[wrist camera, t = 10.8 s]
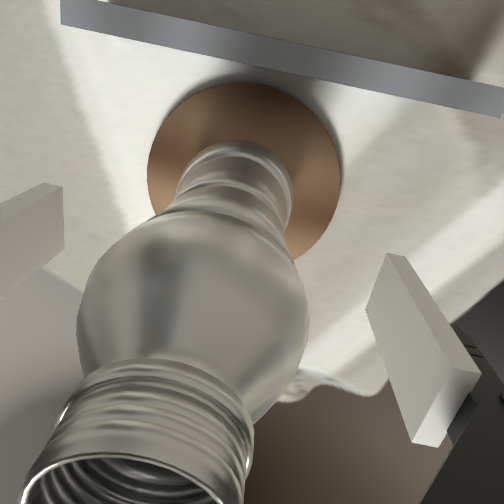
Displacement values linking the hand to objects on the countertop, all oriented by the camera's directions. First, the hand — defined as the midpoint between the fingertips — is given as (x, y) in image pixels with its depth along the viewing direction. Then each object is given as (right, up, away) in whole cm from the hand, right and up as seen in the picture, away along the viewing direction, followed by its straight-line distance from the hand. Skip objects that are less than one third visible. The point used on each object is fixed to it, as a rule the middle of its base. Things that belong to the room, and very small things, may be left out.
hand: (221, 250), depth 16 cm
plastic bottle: (0, +4, +9) cm, 10 cm away
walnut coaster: (+1, +4, +9) cm, 10 cm away
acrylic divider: (+3, +11, +6) cm, 12 cm away
